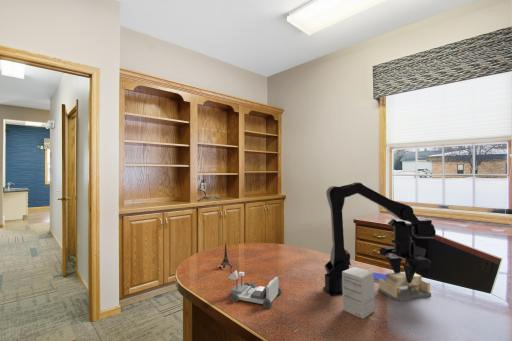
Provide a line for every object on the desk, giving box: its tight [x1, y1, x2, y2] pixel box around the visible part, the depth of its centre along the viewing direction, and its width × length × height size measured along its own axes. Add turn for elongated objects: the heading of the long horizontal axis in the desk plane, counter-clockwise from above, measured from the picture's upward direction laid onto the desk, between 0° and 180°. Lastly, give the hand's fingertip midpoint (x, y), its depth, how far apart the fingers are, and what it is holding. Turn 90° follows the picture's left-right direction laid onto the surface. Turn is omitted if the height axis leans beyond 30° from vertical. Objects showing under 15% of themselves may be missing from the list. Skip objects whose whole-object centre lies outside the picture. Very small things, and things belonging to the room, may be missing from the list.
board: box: [385, 271, 423, 287], centre depth 99 cm, size 11×5×3 cm, turn 104°
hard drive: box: [372, 271, 386, 283], centre depth 111 cm, size 2×8×12 cm
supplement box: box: [342, 266, 376, 319], centre depth 86 cm, size 7×7×13 cm
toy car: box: [228, 269, 283, 309], centre depth 97 cm, size 18×10×12 cm
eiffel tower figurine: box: [220, 241, 232, 268], centre depth 129 cm, size 15×10×13 cm
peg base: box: [377, 278, 432, 302], centre depth 99 cm, size 15×9×4 cm, turn 104°
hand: (403, 280), depth 99 cm, fingers closed on board, 5 cm apart
